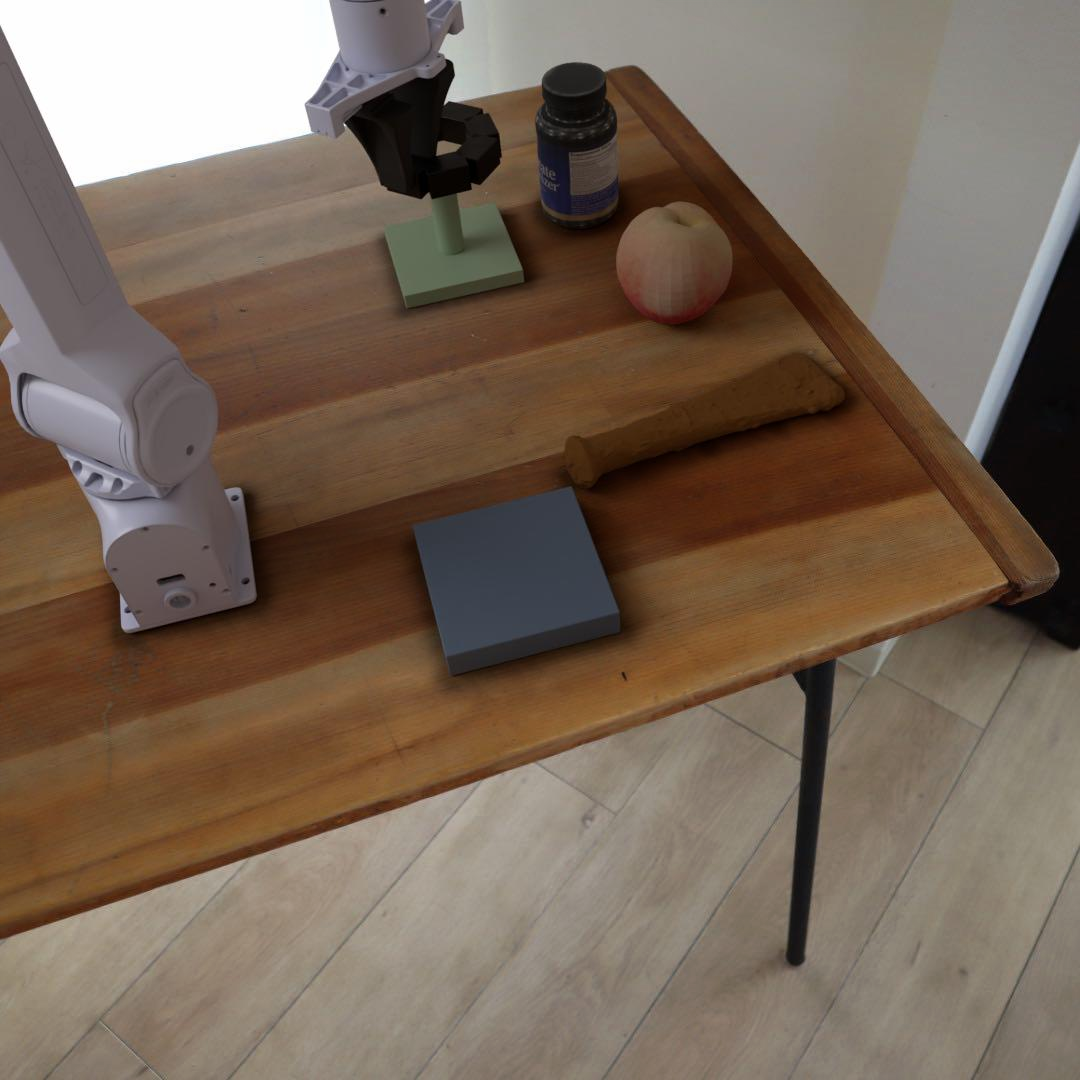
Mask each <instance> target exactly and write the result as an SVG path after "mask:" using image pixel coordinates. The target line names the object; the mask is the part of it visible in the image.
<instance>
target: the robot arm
mask: <svg viewBox="0 0 1080 1080" xmlns="http://www.w3.org/2000/svg"><path fill="white" fill-rule="evenodd" d="M328 2H329V6H330V12H331V16H332V20H333V25H334V29H335V35H336V39H337V43H338V48H339V50H338V52H337V54H336V56H335V58H334V60H333V62H332V63H331V65H330V67H329V69H328V71H327V72H326V74H325V76H324V77H323V79H322V81H321V83H320V85H319V87H318V88H317V90H316V91H315V93H314V94H313V95H312V96H311V97H310V98H309V99H308V100H307V101H306V102H305V103H304V108H305V112H306V116H307V121H308V124H309V128H310V132H312V133H314V134H318V135H321V136H325V137H329V138H333V139H338V138H339V137H340V136H341V135H342V134H344V133H345V132H346V128H345V126H346V127H347V129H349V131H350V132H351V133H352V134H353V135H354V137H355V139H356V140H357V141H358V142H359V144H360V145H361V146H362V148H363V150H364V151H365V153H366V155H367V156H368V158H369V160H370V162H371V163H372V165H373V168H374V167H375V168H374V170H375V169H376V170H375V172H376V171H377V173H378V175H379V177H380V179H381V181H382V183H383V185H384V186H383V187H384V188H386V189H387V188H390V189H393V190H396V191H400V192H403V193H408V192H409V191H410V190H411V189H412V188H413V179H414V173H413V163H412V154H413V155H417V156H421V157H425V158H429V157H433V156H437V153H438V144H439V142H438V135H439V127H440V121H441V115H442V111H443V107H444V105H445V104H446V99H447V97H448V94H449V92H450V89H451V85H452V84H453V81H454V79H455V77H456V72H455V65H454V62H453V61H452V60H451V59H448V58H446V56H445V54H444V53H441V52H440V50H441V47H442V45H443V43H444V41H445V39H446V36H447V35H452V36H456V35H458V34H459V33H461V32H462V31H463V30H464V29H465V23H464V15H463V8H462V1H461V0H428V1H426V2H425V0H328ZM377 173H376V174H377ZM0 306H1V308H2V310H3V311H4V314H5V315H6V317H7V319H8V320H9V322H10V324H11V325H12V328H11V330H9V332H8V333H7V335H6V337H5V338H4V339H3V342H2V343H1V345H0V361H1V363H2V364H3V366H4V369H5V371H6V373H7V375H8V379H9V386H10V400H11V401H10V402H11V407H12V411H13V414H14V417H15V419H16V421H17V422H18V424H19V425H20V426H21V427H22V429H24V431H25V432H26V433H28V434H29V435H31V436H33V437H35V438H38V439H40V440H41V439H42V440H45V441H48V442H53V443H55V445H56V447H57V449H58V450H59V452H60V454H61V456H62V458H63V459H64V460H66V461H67V464H68V466H69V468H70V470H71V473H72V474H73V476H74V478H75V480H76V482H77V483H78V485H79V487H80V489H81V490H82V492H83V494H84V496H85V497H86V499H87V502H88V503H89V505H90V506H91V508H92V510H93V512H94V514H95V516H96V518H97V519H98V523H99V526H100V531H101V540H102V556H103V564H104V566H105V569H106V571H107V573H108V575H109V576H110V578H111V580H112V582H113V583H114V585H115V587H116V588H117V590H118V592H119V605H120V606H119V607H120V608H119V609H120V626H121V629H122V630H123V632H124V633H126V634H132V633H136V632H141V631H145V630H148V629H153V628H157V627H161V626H164V625H169V624H172V623H177V622H180V621H185V620H190V619H193V618H197V617H202V616H206V615H209V614H213V613H217V612H221V611H226V610H230V609H233V608H237V607H241V606H245V605H249V604H253V602H255V601H256V599H257V597H258V593H257V587H256V579H255V572H254V564H253V556H252V547H251V539H250V533H249V525H248V517H247V511H246V501H245V495H244V492H243V490H242V488H240V487H239V486H236V487H229V488H226V489H225V488H224V485H223V483H222V481H221V478H220V475H219V473H218V470H217V469H216V466H215V464H214V462H213V459H212V457H211V455H210V452H211V450H212V448H213V446H214V443H215V441H216V436H217V433H218V426H219V409H218V408H219V407H218V402H217V397H216V394H215V392H214V390H213V388H212V387H211V385H210V384H209V383H208V382H207V381H206V380H205V379H204V378H203V377H201V376H199V375H198V374H196V373H194V372H193V371H192V370H191V369H190V368H189V367H188V366H187V364H186V362H185V360H184V357H183V355H182V353H181V351H180V349H179V347H178V346H177V345H176V344H175V343H174V342H172V341H171V340H170V339H169V338H168V337H167V336H166V335H164V334H163V333H162V332H161V331H160V330H158V329H157V328H156V327H155V326H154V325H153V324H152V323H150V321H148V320H147V319H146V318H144V317H143V316H142V315H141V314H140V313H139V312H137V310H135V309H134V308H133V307H132V306H131V304H130V303H129V302H128V299H127V298H126V296H125V293H124V291H123V289H122V287H121V284H120V282H119V281H118V278H117V276H116V274H115V272H114V270H113V267H112V265H111V263H110V260H109V259H108V256H107V254H106V252H105V250H104V248H103V246H102V243H101V241H100V239H99V236H98V234H97V233H96V230H95V228H94V226H93V224H92V222H91V219H90V217H89V215H88V213H87V210H86V209H85V206H84V204H83V202H82V199H81V198H80V195H79V193H78V191H77V189H76V187H75V185H74V183H73V180H72V178H71V176H70V173H69V172H68V170H67V167H66V165H65V163H64V161H63V159H62V156H61V154H60V152H59V150H58V148H57V145H56V143H55V141H54V138H53V137H52V135H51V132H50V130H49V127H48V126H47V124H46V121H45V119H44V116H43V115H42V112H41V110H40V109H39V107H38V104H37V102H36V100H35V97H34V95H33V92H32V91H31V89H30V86H29V83H28V82H27V80H26V78H25V76H24V73H23V71H22V70H21V67H20V65H19V63H18V61H17V58H16V56H15V53H14V52H13V49H12V47H11V45H10V43H9V41H8V39H7V37H6V34H5V32H4V30H3V28H2V26H1V25H0Z"/></svg>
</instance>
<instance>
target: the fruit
mask: <svg viewBox="0 0 1080 1080" xmlns="http://www.w3.org/2000/svg"><path fill="white" fill-rule="evenodd" d="M733 256H734V255H733V248H732V245H731V242H730V240H729V238H728V236H727V234H726V233H725V231H724V230H723V228H721V226H720V225H719V224H718V223H717V222H716V221H715V219H714V217H713V216H712V215H711V214H710V213H709V212H707V211H706V210H705V209H704V208H703V207H701V206H699V205H697V204H695V203H692V202H688V201H680V200H679V201H675V202H670V203H668V204H667V205H665V206H663V207H661V206H653V207H650V208H647V209H645V210H644V211H642V212H641V213H639V214H638V215H637V216H635V218H633V219H632V220H631V221H630V222H629V224H628V226H627V227H626V229H625V230H624V231H623V233H622V235H621V238H620V240H619V244H618V246H617V250H616V266H615V267H616V275H617V278H618V281H619V283H620V286H621V289H622V291H623V293H624V294H625V297H626V298H627V299H628V301H629V302H630V303H631V305H632V306H633V307H634V308H635V309H636V310H637V311H638V312H639V313H640V314H642V315H643V316H644V317H645V318H647V319H648V320H649V321H652V322H654V323H656V324H660V325H664V326H674V325H682V324H685V323H689V322H691V321H693V320H695V319H697V318H699V317H701V316H703V315H704V314H705V313H706V312H707V311H709V310H710V309H711V308H712V307H713V306H714V305H715V304H716V303H717V302H718V301H719V299H720V298H721V297H722V296H723V294H724V293H725V292H726V290H727V288H728V286H729V283H730V279H731V277H732V271H733Z"/></svg>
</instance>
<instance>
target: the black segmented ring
mask: <svg viewBox="0 0 1080 1080" xmlns="http://www.w3.org/2000/svg"><path fill="white" fill-rule="evenodd" d="M440 142H447V143H450V144H455V145H459V147H458V148H457V149H456V151H455V150H454V151H451V152H447V153H442V154H438V155H436V156H433V157H429V158H425V157H421V156H417V155H413V154H412V163H413V173H414V179H413V188H412V189H411V190H410V191H409V192H408V193H403V192H400V191H396V190H393V189H390V188H386V191H387V192H391V193H395V194H399V195H402V196H406V197H409V198H410V197H411V198H413V199H417V200H423V199H424V198H425V197H426V196H427V195H429V194H430V197H431V199H436V198H441V197H445V196H449V195H453V194H457V195H458V194H460V193H466V192H470V191H472V190H473V185H476V186H481V185H482V184H484V182H485V181H486V180H487V179H488V178H489V177H490V176H491V175H492V173H493V172H495V170H496V169H497V168H498V167H499V166H500V165H501V159H502V158H503V152H502V145H501V137H500V132H499V130H498V128H497V126H496V124H495V122H494V120H493V118H492V116H491V114H490V113H489V112H485V113H484V109H483V108H482V107H478V106H473V105H468V104H464V103H460V102H455V101H451V100H448V101H447V102H445V103H444V107H443V111H442V115H441V121H440V127H439V135H438V143H440ZM373 169H374V170H375V173H376V176H377V178H378V181H379V184H380V186H381V187H384V185H383V183H382V181H381V179H380V177H379V175H378V173H377V171H376V169H375V167H374V166H373ZM430 197H429V198H430Z"/></svg>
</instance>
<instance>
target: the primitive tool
mask: <svg viewBox="0 0 1080 1080" xmlns="http://www.w3.org/2000/svg"><path fill="white" fill-rule="evenodd" d="M845 395H846V393H845V391H844V389H843V387H842V386H841V385H839V384H838V383H837V382H836V381H834V379H832V378H831V376H829V375H828V374H827V373H826V372H825V371H824V370H822V368H821V367H820V366H818V365H817V364H816V363H815V362H814V361H813V360H812V359H811V358H809V356H807V355H806V354H804V353H802V352H795V353H794V352H793V353H790V354H787V355H784V356H781V357H779V358H777V359H775V360H774V361H771V362H769V363H767V364H765V365H764V366H763V365H762V367H760V368H757V369H755V370H753V371H751V372H750V373H747V374H746V375H743V376H741V377H739V378H737V379H734V380H732V381H730V382H728V383H725V384H722V385H719V386H716V387H714V388H712V389H710V390H708V391H705V392H703V393H702V394H700V395H697V396H694V397H693V398H690V399H688V400H685V401H677V402H675V403H673V404H670V405H669V407H668V408H666V409H663V410H662V411H659V412H657V413H655V414H652V415H648V416H645V417H641V418H639V419H637V420H634V421H632V422H630V423H627V424H625V425H624V426H621V427H619V426H618V427H616V428H614V429H612V430H609V431H605V432H600V433H598V434H595V435H592V436H588V437H582V436H580V435H573V434H572V435H570V436H568V437H567V439H566V440H565V444H564V455H563V457H564V462H565V468H566V470H567V472H568V474H569V476H570V477H571V479H572V481H573V482H574V483H575V484H576V486H577V487H579V488H581V489H591V488H592V487H593V486H594V485H596V483H597V481H598V480H599V479H600V477H601V476H602V475H604V474H607V473H609V472H612V471H614V470H618V469H622V468H624V467H627V466H630V465H633V464H635V463H637V462H641V461H643V460H646V459H651V458H657V457H658V456H661V455H664V454H666V453H669V452H672V451H674V452H681V451H683V450H684V449H686V448H689V447H691V446H692V445H695V444H699V443H703V442H706V441H709V440H712V439H717V438H718V437H722V436H725V435H729V434H733V433H736V432H744V431H747V430H749V429H756V428H758V427H760V426H762V425H769V424H770V423H774V422H778V421H783V420H787V419H791V418H795V417H800V416H805V415H808V414H811V415H814V414H816V413H817V412H819V411H822V412H829V411H830V410H832V409H833V408H834V407H836V406H839V405H841V404H842V403H843V401H844V400H845V397H846V396H845Z"/></svg>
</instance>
